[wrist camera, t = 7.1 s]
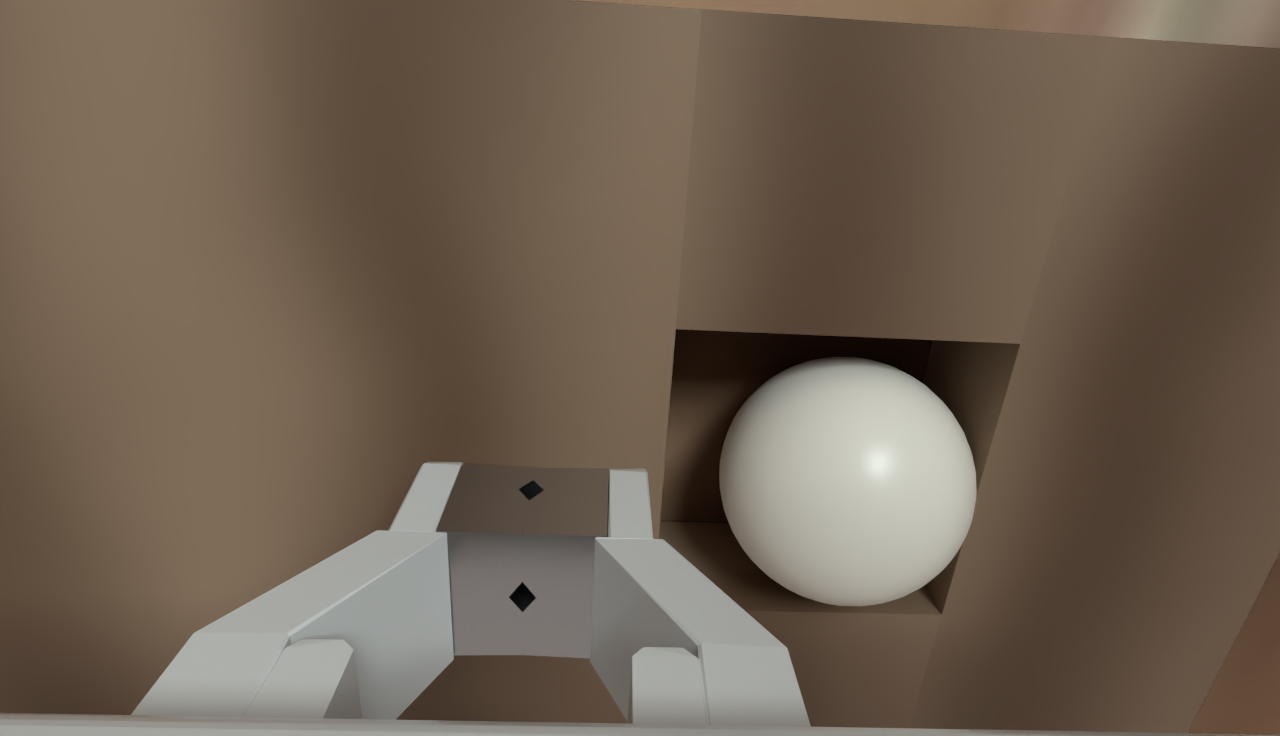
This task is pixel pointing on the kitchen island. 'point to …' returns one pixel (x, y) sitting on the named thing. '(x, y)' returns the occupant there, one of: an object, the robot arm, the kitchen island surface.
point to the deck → (631, 321)
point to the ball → (847, 481)
